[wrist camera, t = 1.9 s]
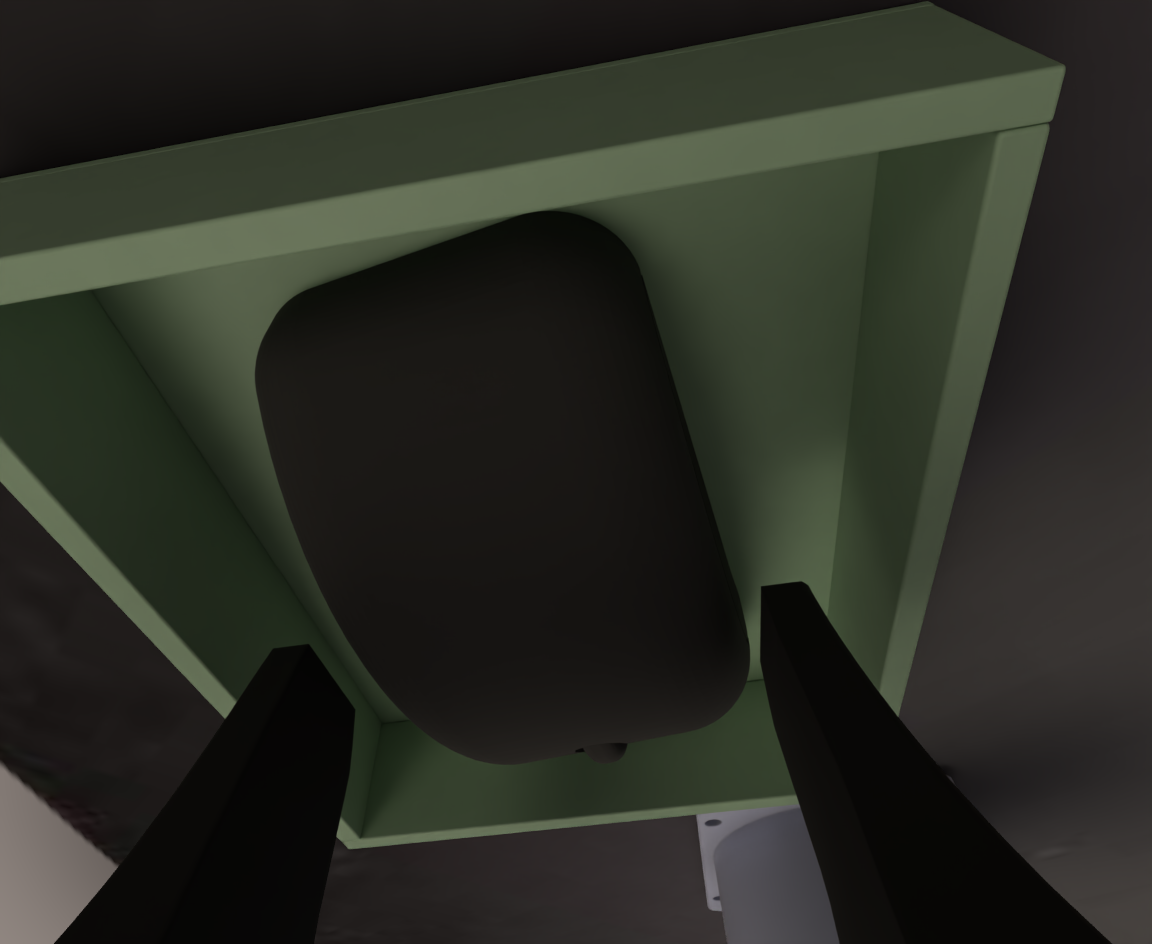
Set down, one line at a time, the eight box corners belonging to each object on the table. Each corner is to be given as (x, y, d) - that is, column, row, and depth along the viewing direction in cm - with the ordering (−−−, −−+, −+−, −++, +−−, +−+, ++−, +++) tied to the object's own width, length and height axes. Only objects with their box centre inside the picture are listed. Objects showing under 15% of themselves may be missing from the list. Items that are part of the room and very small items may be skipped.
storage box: (836, 673, 19) (878, 796, 16) (372, 727, 20) (348, 850, 17) (928, 0, 9) (1070, 64, 6) (-7, 179, 10) (-184, 291, 8)
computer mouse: (504, 689, 18) (496, 856, 15) (226, 317, 11) (110, 495, 8) (751, 635, 17) (794, 806, 14) (616, 181, 10) (646, 332, 7)
